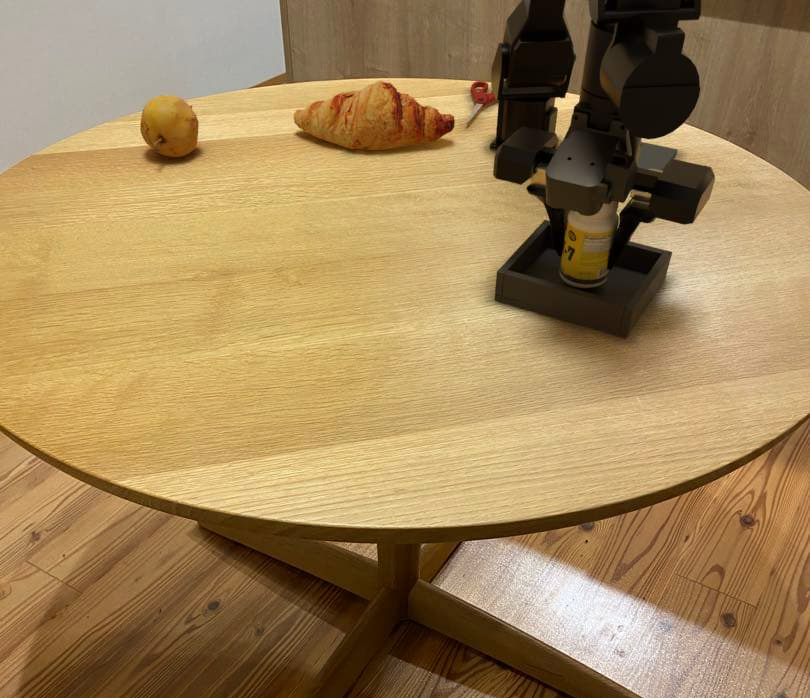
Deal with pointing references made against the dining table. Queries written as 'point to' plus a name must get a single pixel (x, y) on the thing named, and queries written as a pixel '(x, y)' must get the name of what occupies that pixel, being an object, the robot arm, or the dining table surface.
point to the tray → (591, 307)
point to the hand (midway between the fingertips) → (585, 261)
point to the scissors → (480, 97)
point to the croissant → (373, 119)
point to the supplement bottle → (588, 246)
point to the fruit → (169, 126)
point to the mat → (655, 156)
